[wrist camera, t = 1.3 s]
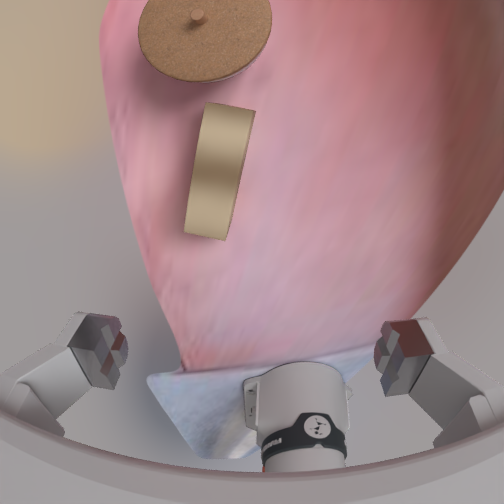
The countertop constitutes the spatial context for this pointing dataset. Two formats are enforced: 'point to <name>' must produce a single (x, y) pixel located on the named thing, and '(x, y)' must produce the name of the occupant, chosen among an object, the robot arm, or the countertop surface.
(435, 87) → the countertop surface
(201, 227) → the beech block
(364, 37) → the countertop surface
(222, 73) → the lidded jar
